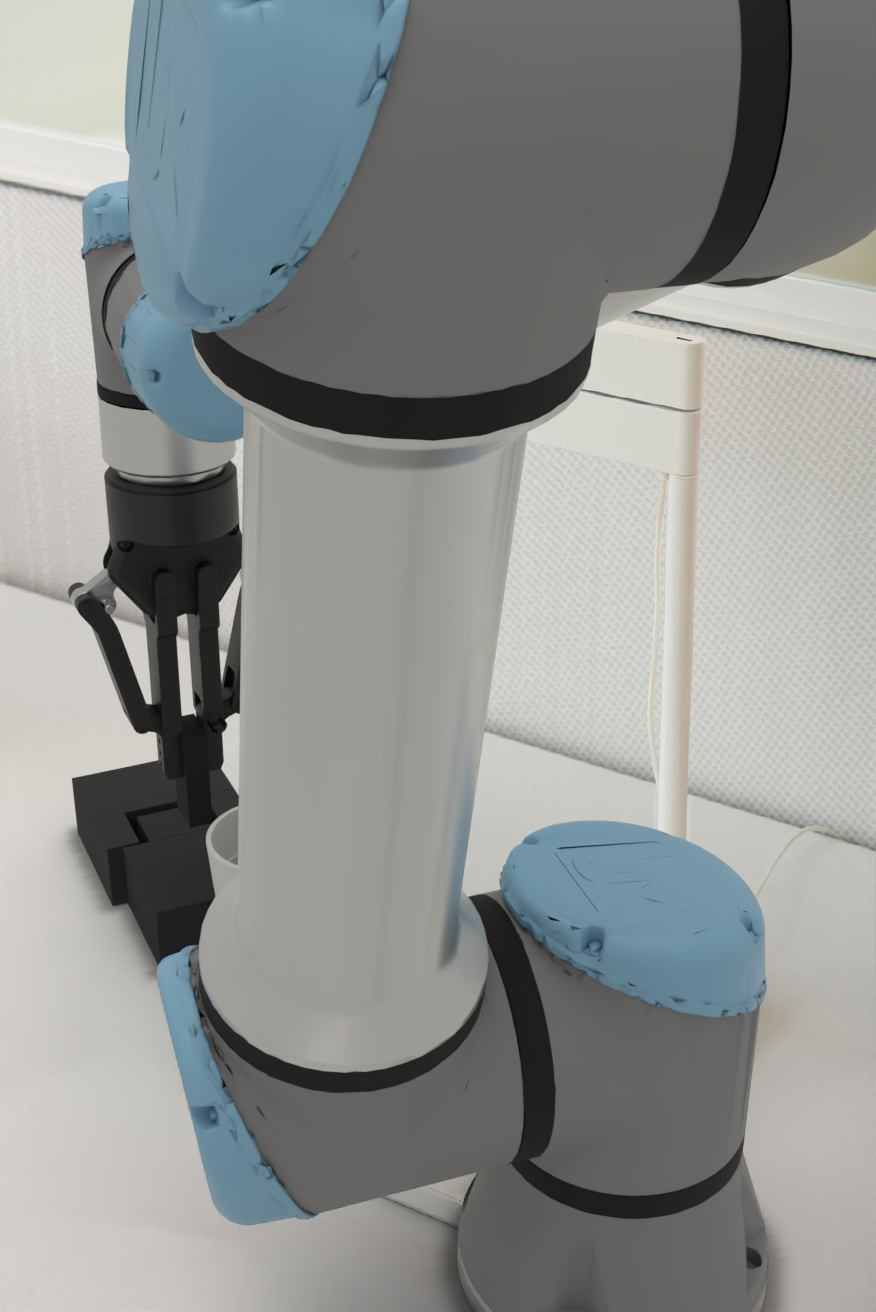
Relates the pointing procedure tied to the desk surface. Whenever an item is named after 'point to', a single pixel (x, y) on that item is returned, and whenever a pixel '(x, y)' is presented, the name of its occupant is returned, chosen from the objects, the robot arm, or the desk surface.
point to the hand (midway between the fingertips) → (194, 814)
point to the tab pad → (169, 881)
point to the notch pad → (130, 814)
